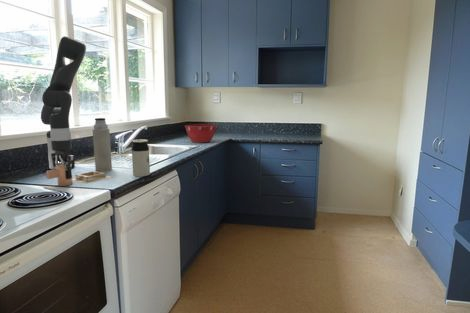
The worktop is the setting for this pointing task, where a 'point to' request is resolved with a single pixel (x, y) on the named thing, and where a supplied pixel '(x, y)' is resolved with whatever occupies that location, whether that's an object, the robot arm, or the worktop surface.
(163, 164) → the worktop surface
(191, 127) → the mixing bowl
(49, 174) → the tabbed peach cylinder
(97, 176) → the dock
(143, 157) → the travel mug
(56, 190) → the mat
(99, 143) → the thermos bottle
